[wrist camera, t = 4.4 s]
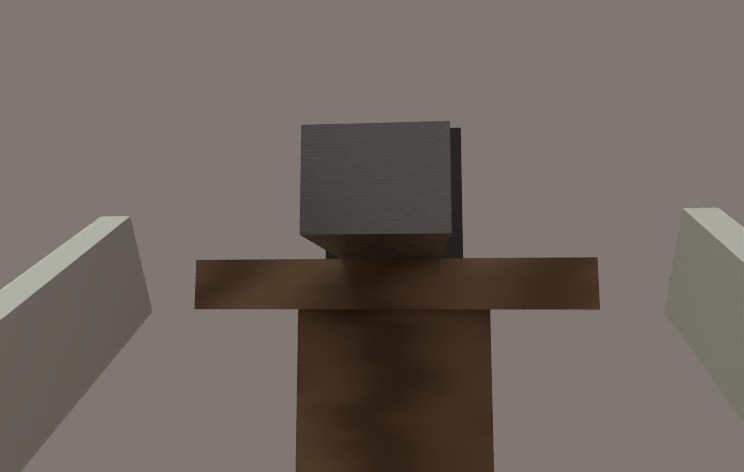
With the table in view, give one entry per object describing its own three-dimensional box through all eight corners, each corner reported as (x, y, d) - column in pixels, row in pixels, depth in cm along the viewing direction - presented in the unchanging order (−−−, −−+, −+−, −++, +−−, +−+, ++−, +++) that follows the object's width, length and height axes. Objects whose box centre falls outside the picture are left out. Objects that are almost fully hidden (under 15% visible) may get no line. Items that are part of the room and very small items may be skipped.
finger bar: (262, 234, 15) (267, 21, 16) (341, 270, 30) (342, 158, 31) (490, 232, 15) (485, 12, 16) (456, 269, 30) (454, 156, 31)
